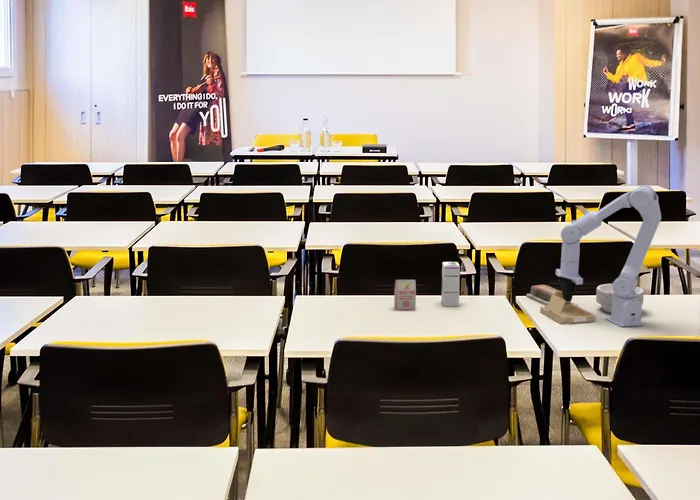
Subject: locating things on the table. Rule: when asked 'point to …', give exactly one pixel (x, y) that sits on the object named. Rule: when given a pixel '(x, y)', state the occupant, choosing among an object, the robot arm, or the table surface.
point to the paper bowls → (606, 296)
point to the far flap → (561, 295)
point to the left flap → (556, 304)
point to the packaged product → (543, 294)
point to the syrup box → (450, 283)
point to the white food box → (405, 295)
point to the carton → (569, 314)
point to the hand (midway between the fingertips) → (567, 300)
